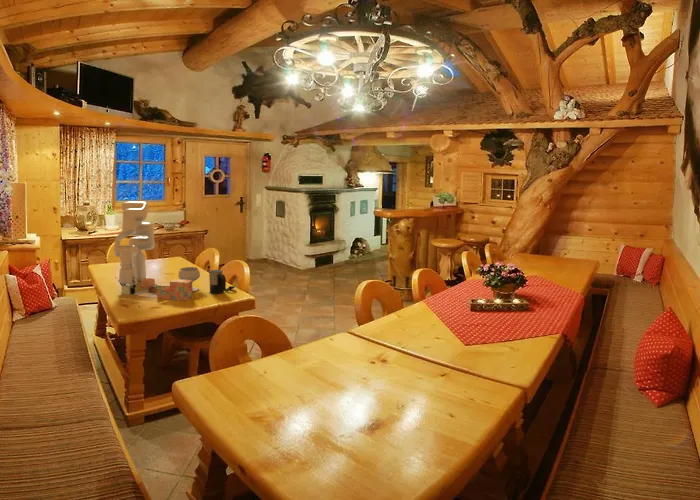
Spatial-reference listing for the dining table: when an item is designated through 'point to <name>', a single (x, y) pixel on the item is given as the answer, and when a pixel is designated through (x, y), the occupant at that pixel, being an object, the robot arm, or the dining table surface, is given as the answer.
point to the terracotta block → (147, 282)
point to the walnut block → (152, 288)
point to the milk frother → (218, 282)
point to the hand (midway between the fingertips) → (128, 292)
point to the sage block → (127, 289)
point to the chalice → (189, 275)
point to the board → (145, 293)
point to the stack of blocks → (175, 290)
